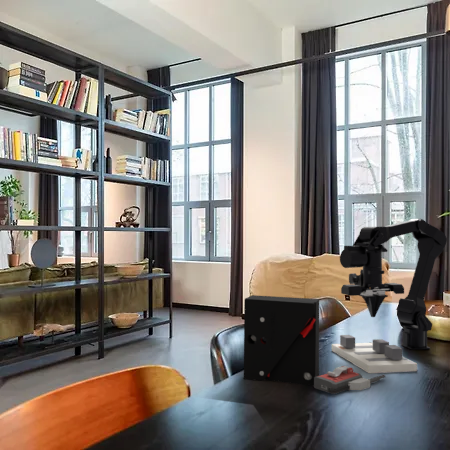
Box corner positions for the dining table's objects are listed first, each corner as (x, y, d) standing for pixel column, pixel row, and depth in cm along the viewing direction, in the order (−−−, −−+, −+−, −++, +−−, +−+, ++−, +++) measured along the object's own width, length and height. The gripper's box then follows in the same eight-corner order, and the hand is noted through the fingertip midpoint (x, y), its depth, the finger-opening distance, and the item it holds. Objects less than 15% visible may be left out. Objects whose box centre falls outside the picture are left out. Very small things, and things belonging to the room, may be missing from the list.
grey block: (381, 349, 136) (381, 339, 136) (389, 352, 132) (389, 342, 132) (372, 349, 135) (372, 339, 135) (379, 353, 131) (379, 342, 132)
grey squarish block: (394, 355, 129) (394, 344, 129) (402, 359, 125) (402, 348, 125) (384, 355, 129) (384, 345, 129) (392, 359, 125) (392, 348, 125)
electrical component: (319, 376, 117) (320, 297, 118) (314, 388, 108) (314, 303, 108) (253, 368, 123) (254, 294, 123) (242, 379, 113) (243, 299, 114)
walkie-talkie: (338, 400, 101) (388, 382, 114) (339, 380, 101) (388, 365, 114) (308, 389, 108) (358, 374, 121) (308, 371, 108) (358, 357, 121)
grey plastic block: (349, 344, 142) (349, 334, 142) (355, 347, 138) (355, 337, 138) (340, 344, 141) (340, 335, 141) (345, 348, 137) (345, 337, 137)
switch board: (372, 348, 146) (372, 342, 146) (417, 371, 123) (417, 363, 123) (331, 350, 144) (331, 343, 144) (368, 373, 120) (368, 365, 120)
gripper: (385, 264, 152) (385, 311, 152) (333, 265, 149) (333, 313, 148) (404, 266, 142) (405, 317, 141) (349, 268, 138) (350, 320, 137)
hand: (372, 316), depth 142 cm, fingers closed
